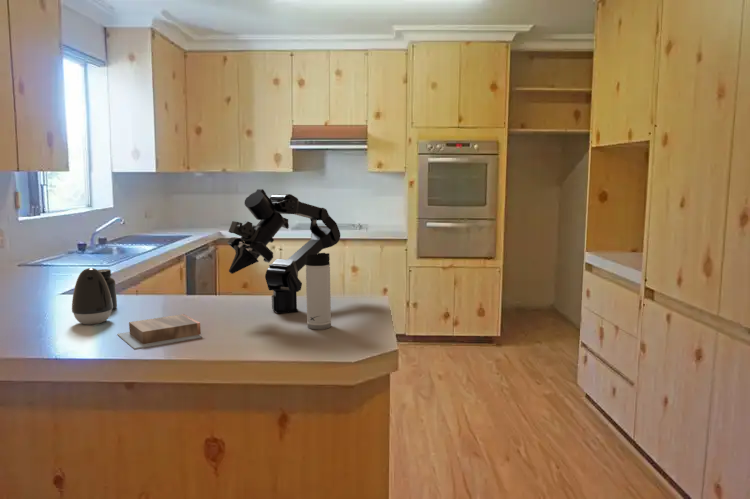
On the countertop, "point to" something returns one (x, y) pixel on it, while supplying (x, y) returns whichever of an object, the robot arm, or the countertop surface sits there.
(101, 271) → the supplement bottle
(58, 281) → the countertop surface
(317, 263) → the travel mug
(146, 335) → the walnut slab
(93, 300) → the black white egg shape
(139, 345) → the mat
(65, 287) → the countertop surface
